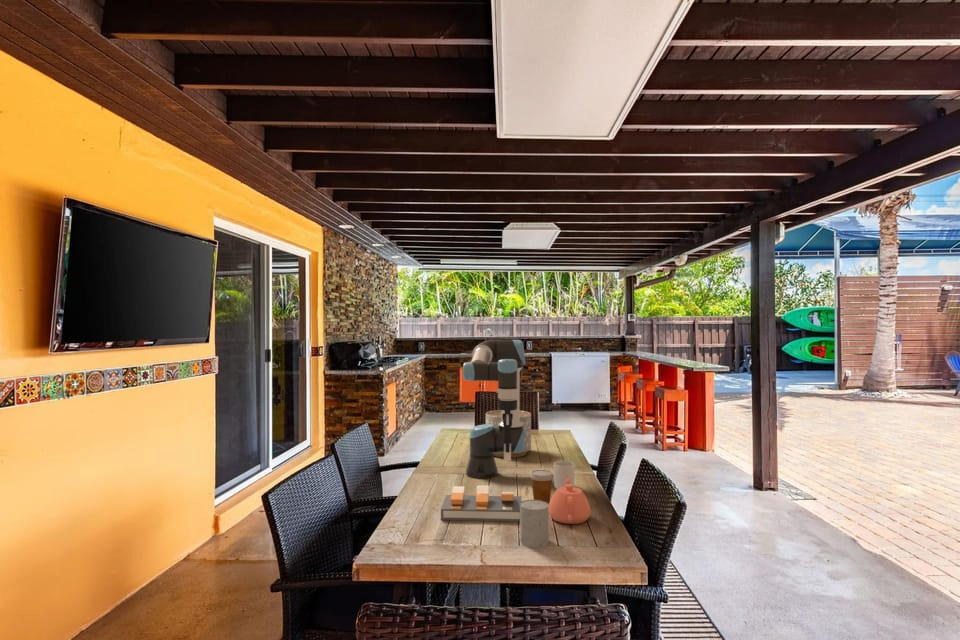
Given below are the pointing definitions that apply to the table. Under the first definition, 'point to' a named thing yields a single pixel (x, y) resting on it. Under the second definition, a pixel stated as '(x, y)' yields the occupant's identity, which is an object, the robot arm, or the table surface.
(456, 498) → the block
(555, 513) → the teapot
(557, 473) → the mug
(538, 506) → the grey cylinder
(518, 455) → the planter
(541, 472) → the disposable coffee cup
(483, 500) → the rocker
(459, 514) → the console
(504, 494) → the rocker
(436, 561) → the table surface
